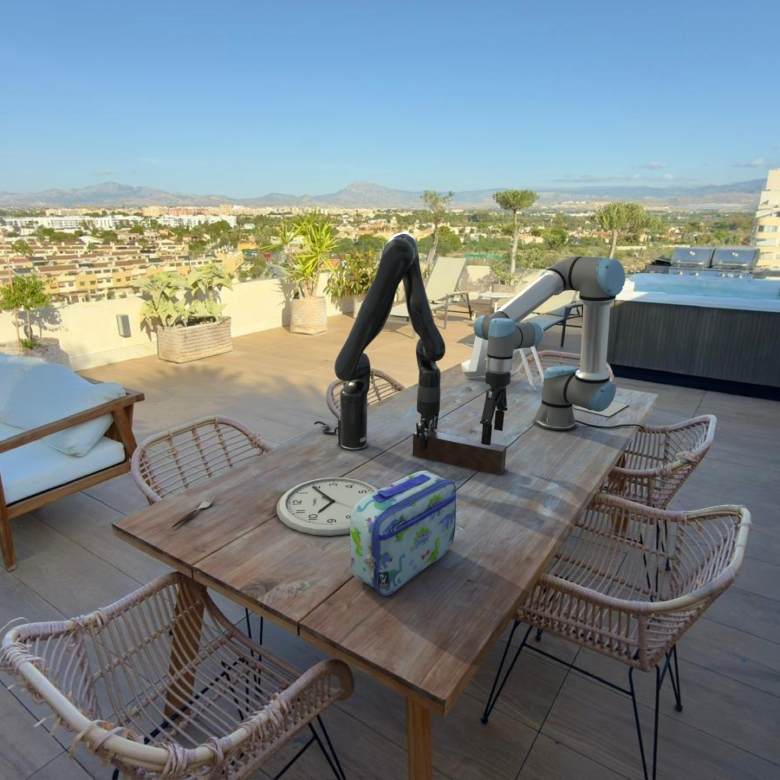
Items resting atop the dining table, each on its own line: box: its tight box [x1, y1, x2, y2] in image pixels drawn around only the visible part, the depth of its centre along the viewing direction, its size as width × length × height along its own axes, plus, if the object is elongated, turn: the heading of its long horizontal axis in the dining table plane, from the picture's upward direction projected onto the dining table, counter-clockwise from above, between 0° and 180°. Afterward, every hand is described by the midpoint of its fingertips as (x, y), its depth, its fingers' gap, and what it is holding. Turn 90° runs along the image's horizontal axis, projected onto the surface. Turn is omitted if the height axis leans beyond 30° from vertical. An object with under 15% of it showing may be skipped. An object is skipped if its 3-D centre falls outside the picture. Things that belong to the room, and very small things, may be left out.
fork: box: [171, 493, 217, 529], centre depth 137 cm, size 3×16×2 cm, turn 160°
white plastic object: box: [460, 321, 545, 391], centre depth 258 cm, size 37×45×31 cm
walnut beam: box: [412, 431, 507, 476], centre depth 169 cm, size 30×5×8 cm, turn 63°
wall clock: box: [276, 476, 380, 537], centre depth 142 cm, size 30×2×30 cm
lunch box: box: [349, 470, 457, 597], centre depth 114 cm, size 26×11×21 cm, turn 134°
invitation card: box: [573, 400, 629, 418], centre depth 226 cm, size 21×1×15 cm
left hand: (426, 446), depth 174 cm, fingers closed on walnut beam, 5 cm apart
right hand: (492, 437), depth 162 cm, fingers open, 13 cm apart
